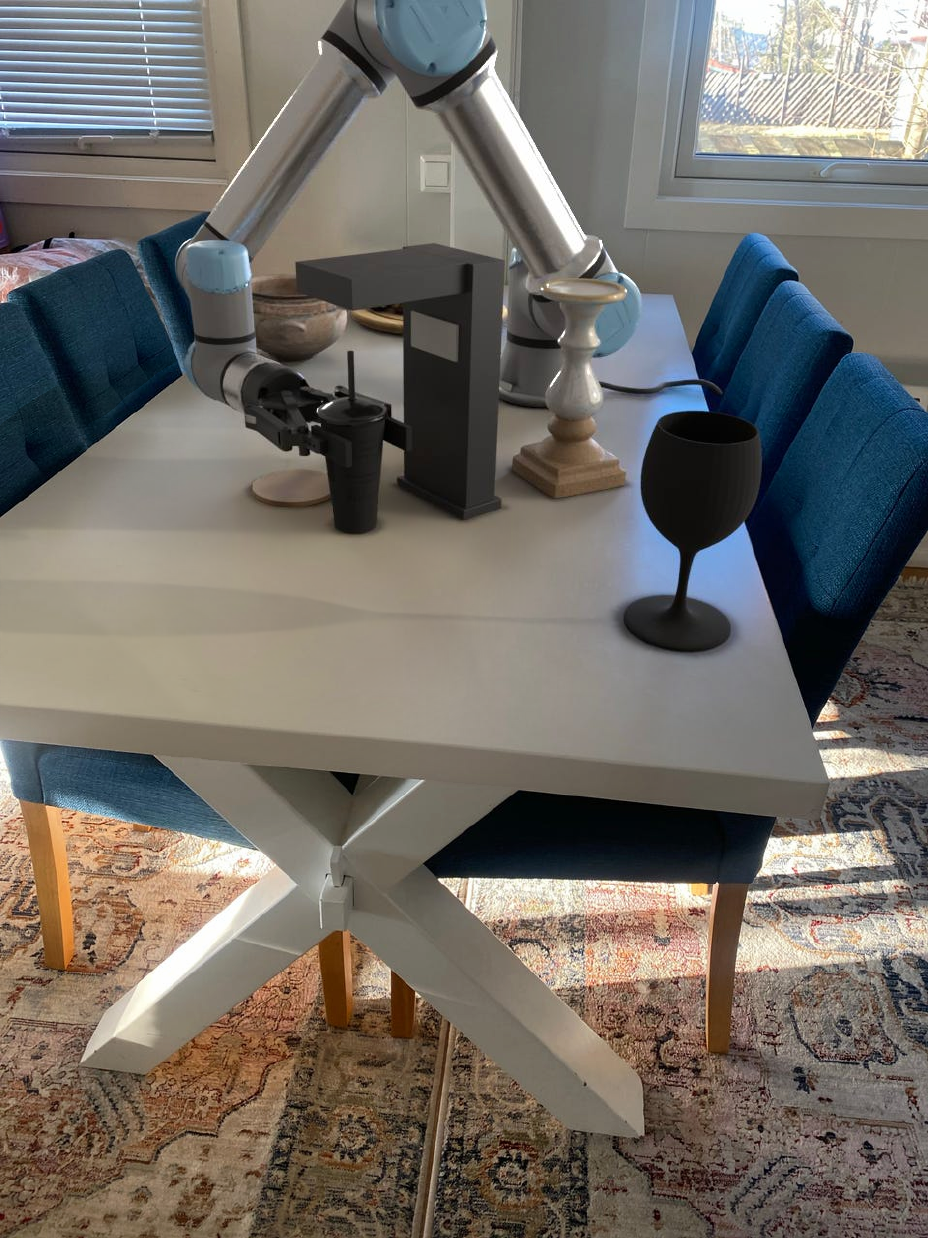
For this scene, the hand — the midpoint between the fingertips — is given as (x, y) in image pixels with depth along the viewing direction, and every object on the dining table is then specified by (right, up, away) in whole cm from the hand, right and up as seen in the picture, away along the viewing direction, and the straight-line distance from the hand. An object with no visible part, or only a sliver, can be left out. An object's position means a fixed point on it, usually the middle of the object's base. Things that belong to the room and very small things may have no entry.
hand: (379, 446), depth 103 cm
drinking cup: (-3, -8, +9) cm, 12 cm away
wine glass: (+30, -19, -9) cm, 36 cm away
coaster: (-12, -2, +17) cm, 21 cm away
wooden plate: (+2, +43, +94) cm, 103 cm away
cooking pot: (-21, +28, +68) cm, 76 cm away
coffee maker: (+2, -5, +13) cm, 14 cm away
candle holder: (+22, 0, +23) cm, 32 cm away
